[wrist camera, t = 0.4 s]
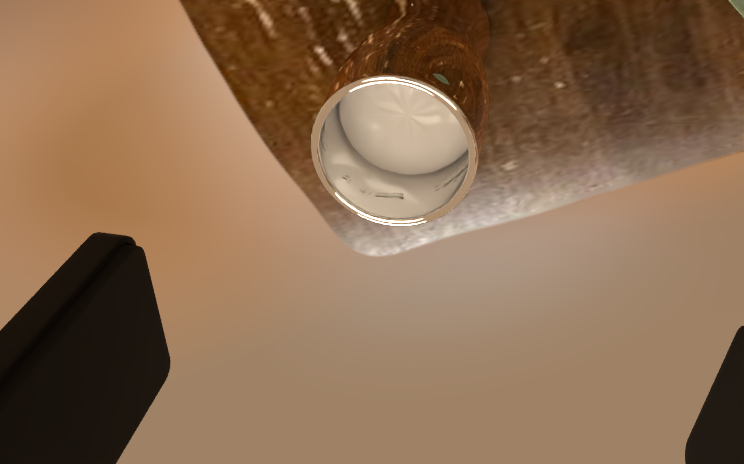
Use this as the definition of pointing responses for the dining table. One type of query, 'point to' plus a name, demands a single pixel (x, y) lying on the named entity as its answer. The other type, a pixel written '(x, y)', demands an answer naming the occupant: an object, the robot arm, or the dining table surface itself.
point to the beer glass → (407, 114)
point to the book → (738, 6)
